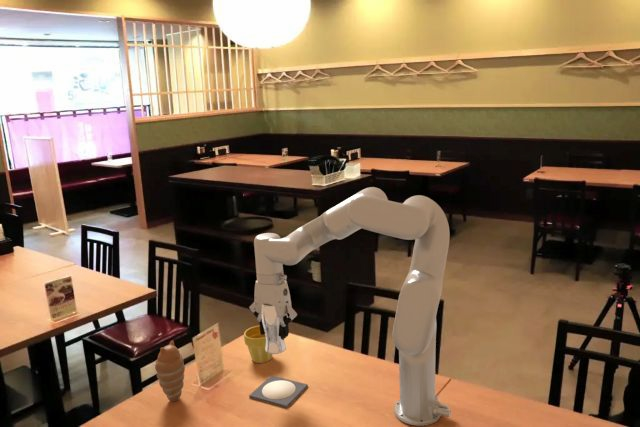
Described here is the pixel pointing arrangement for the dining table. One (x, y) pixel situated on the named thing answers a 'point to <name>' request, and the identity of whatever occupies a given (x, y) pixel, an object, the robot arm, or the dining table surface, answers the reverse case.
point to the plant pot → (256, 345)
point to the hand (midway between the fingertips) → (274, 334)
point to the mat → (278, 391)
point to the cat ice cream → (170, 371)
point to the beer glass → (272, 330)
